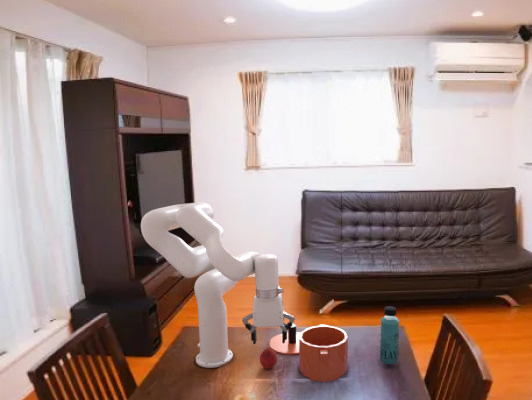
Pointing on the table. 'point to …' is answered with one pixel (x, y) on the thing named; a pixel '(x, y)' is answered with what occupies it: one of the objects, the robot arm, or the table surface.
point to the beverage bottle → (389, 336)
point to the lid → (286, 342)
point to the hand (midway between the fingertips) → (269, 342)
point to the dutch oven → (323, 353)
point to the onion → (268, 358)
